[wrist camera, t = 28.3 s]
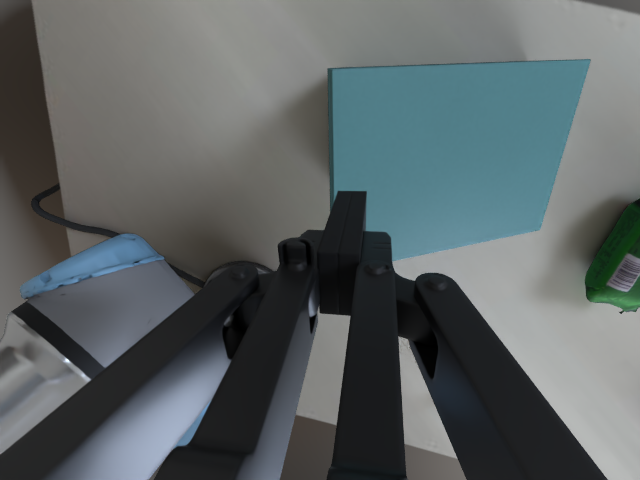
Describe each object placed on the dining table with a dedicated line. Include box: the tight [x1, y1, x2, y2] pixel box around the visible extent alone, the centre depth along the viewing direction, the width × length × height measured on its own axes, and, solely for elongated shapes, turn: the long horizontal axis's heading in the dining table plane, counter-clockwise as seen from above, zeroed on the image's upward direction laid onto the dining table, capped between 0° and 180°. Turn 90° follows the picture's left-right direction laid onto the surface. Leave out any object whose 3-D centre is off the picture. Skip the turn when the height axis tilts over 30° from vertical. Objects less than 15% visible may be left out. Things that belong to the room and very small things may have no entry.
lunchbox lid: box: [328, 59, 591, 261], centre depth 26 cm, size 20×14×1 cm
